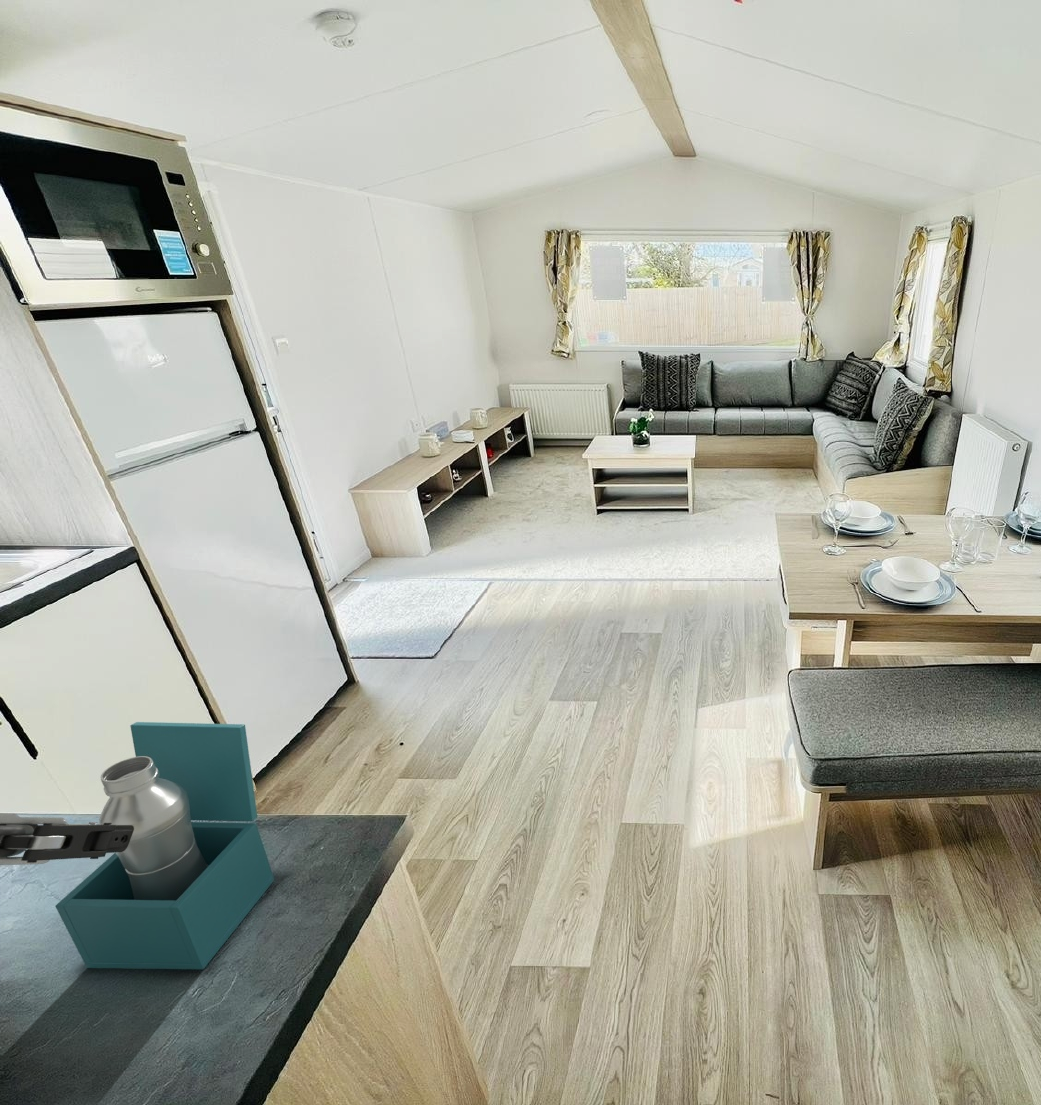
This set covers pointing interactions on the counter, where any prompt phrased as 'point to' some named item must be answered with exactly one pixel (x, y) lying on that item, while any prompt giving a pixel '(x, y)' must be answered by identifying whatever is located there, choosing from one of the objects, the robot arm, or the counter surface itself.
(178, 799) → the silver metal bottle
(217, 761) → the cool box lid
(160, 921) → the cool box
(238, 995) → the counter surface
